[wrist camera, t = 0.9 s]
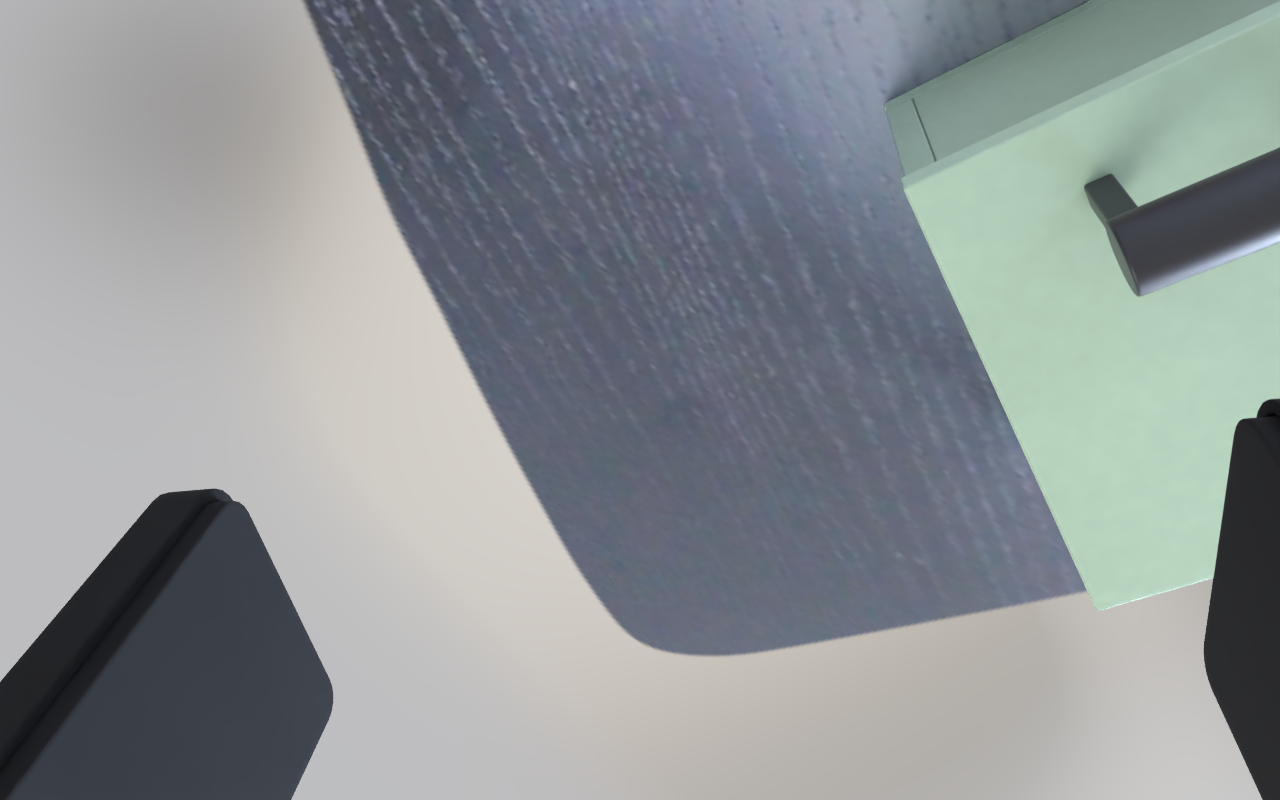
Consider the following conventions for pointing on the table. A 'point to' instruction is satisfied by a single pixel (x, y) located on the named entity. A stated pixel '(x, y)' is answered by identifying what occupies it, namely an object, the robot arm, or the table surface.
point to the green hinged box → (1047, 70)
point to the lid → (1127, 295)
